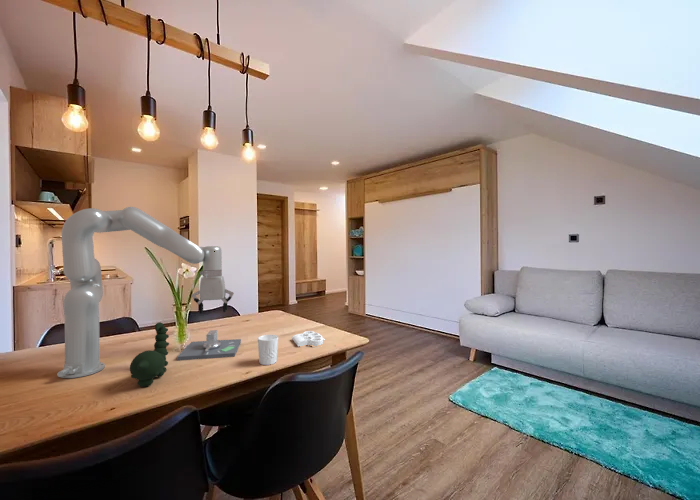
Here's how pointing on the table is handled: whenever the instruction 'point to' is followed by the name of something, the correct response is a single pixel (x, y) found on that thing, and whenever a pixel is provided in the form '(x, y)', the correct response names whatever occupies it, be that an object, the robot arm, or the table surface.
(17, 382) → the table surface
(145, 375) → the toy figurine
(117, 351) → the table surface
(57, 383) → the table surface
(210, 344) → the gray cube on spoon
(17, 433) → the table surface
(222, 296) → the robot arm
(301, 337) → the white brass knuckles
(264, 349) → the white cup
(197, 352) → the dial plate
